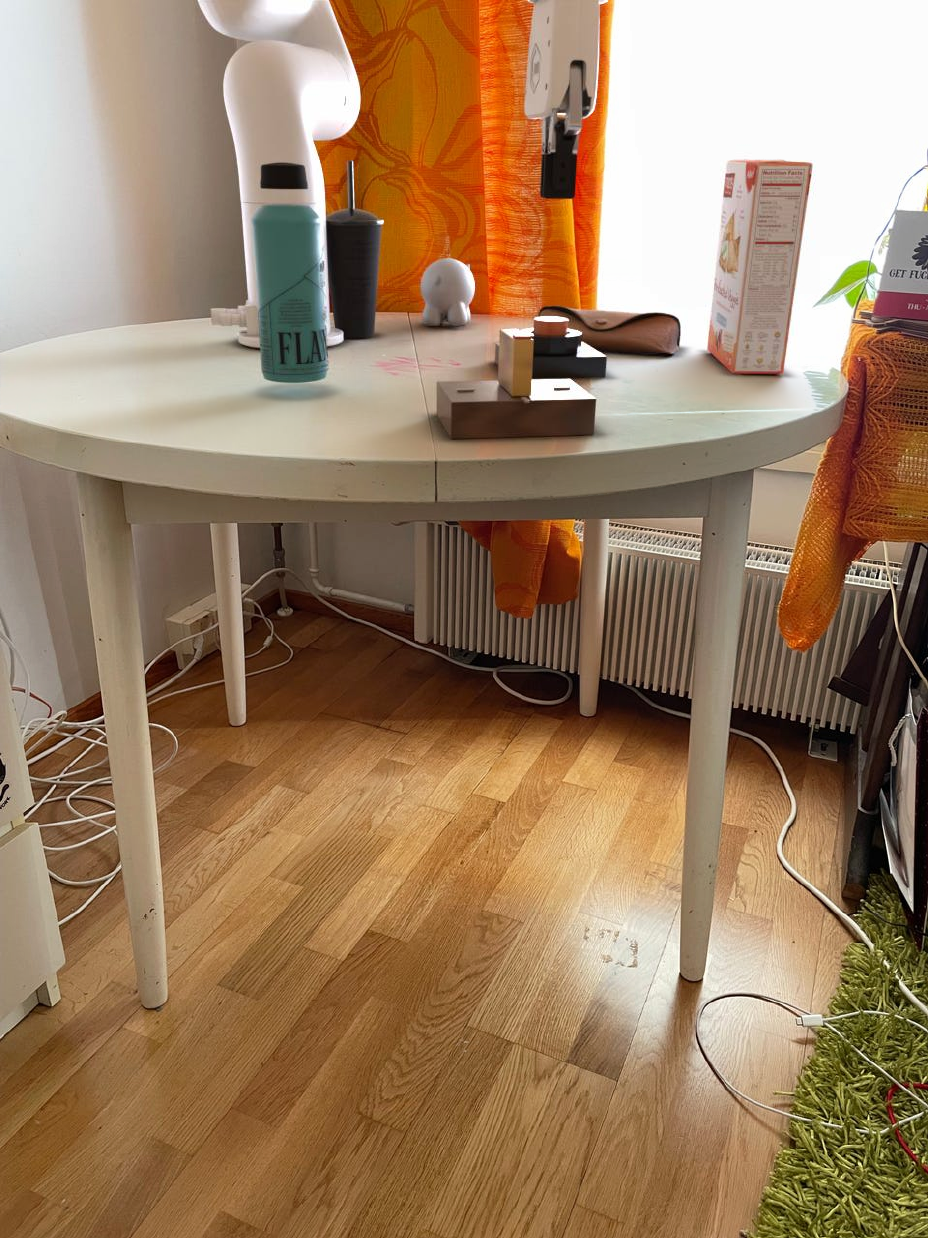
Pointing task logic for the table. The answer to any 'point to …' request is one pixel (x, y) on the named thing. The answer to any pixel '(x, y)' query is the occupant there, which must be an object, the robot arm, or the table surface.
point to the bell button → (550, 326)
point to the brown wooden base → (514, 409)
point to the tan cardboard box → (515, 362)
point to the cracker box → (757, 263)
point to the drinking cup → (353, 266)
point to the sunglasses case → (622, 330)
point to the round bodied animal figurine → (447, 293)
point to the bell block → (563, 357)
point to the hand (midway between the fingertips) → (557, 197)
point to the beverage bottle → (289, 282)
